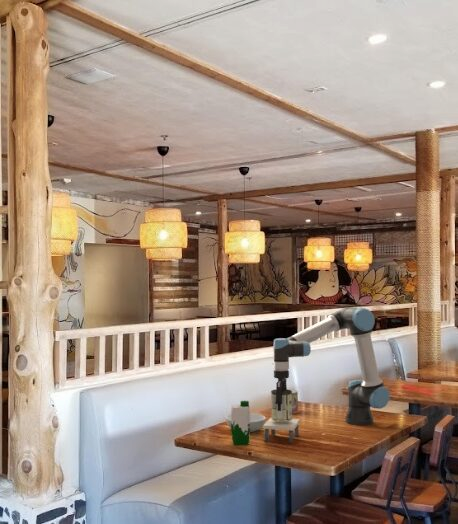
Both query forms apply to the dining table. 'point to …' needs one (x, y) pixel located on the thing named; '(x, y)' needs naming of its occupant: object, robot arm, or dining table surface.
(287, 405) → the coffee can
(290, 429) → the peg stand
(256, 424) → the serving bowl
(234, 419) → the milk carton
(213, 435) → the dining table surface
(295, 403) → the canned food
